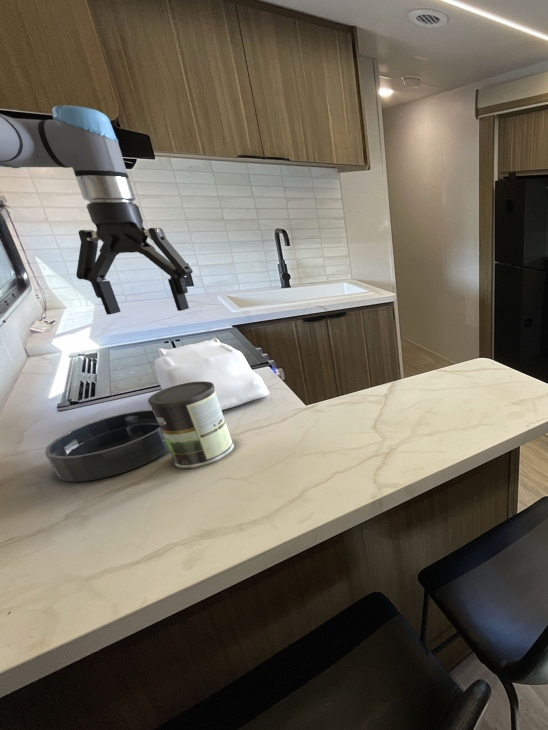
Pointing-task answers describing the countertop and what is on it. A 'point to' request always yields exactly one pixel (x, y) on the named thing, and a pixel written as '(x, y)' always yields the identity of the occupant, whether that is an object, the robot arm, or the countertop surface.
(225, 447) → the coffee can
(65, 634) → the countertop surface
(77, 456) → the shallow grey round dish
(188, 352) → the white bag
